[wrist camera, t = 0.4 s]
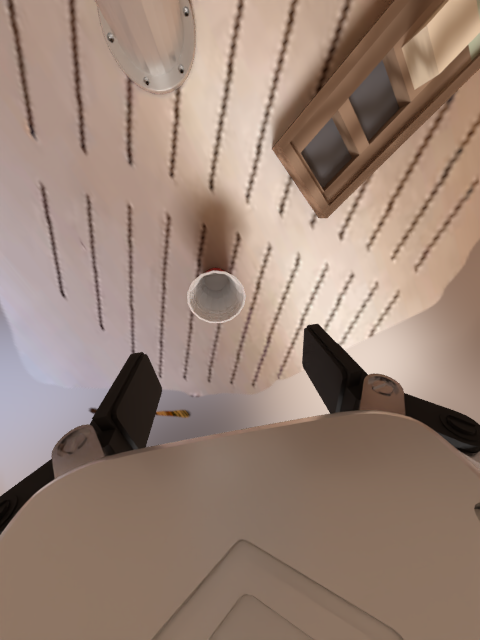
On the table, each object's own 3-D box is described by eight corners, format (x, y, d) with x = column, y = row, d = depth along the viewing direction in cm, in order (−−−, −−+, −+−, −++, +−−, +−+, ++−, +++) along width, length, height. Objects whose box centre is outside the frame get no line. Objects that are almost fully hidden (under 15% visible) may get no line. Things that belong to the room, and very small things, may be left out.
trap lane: (271, 148, 35) (281, 137, 30) (504, -134, 25) (583, -229, 19) (318, 218, 42) (333, 218, 37) (518, 19, 31) (579, -21, 26)
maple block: (401, 47, 29) (426, 25, 26) (439, 4, 28) (472, -26, 24) (414, 89, 32) (439, 74, 28) (450, 52, 30) (481, 30, 27)
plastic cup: (208, 308, 49) (206, 334, 39) (183, 271, 44) (174, 288, 33) (246, 289, 48) (255, 309, 37) (225, 248, 43) (229, 259, 32)
